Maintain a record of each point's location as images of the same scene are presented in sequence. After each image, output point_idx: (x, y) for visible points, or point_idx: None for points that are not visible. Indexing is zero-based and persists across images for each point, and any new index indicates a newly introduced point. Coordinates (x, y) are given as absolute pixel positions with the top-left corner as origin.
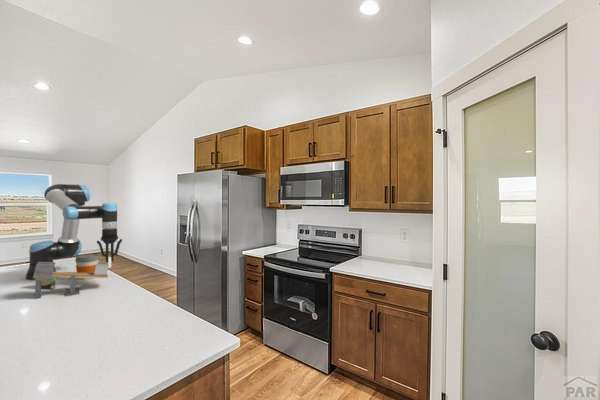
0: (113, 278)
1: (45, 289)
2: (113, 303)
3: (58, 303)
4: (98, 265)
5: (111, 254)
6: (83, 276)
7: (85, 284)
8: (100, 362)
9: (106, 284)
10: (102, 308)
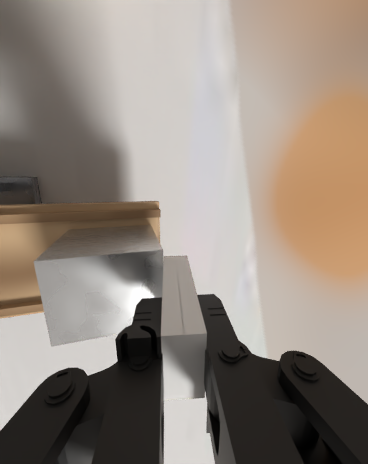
0: (204, 53)
1: None
2: (169, 430)
3: (2, 356)
4: (74, 340)
5: (216, 443)
6: (11, 313)
7: (54, 102)
8: None
9: (160, 184)
10: None
